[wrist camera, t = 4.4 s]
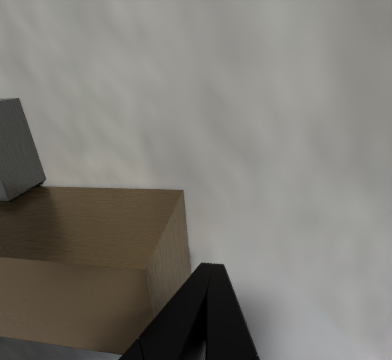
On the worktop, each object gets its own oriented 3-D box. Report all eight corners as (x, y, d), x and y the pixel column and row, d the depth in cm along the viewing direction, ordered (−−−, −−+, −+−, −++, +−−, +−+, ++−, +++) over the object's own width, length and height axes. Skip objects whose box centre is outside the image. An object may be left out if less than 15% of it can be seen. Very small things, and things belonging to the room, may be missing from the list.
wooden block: (196, 325, 14) (175, 433, 10) (-45, 295, 17) (-136, 369, 13) (183, 189, 10) (144, 269, 6) (-116, 182, 13) (-271, 234, 9)
